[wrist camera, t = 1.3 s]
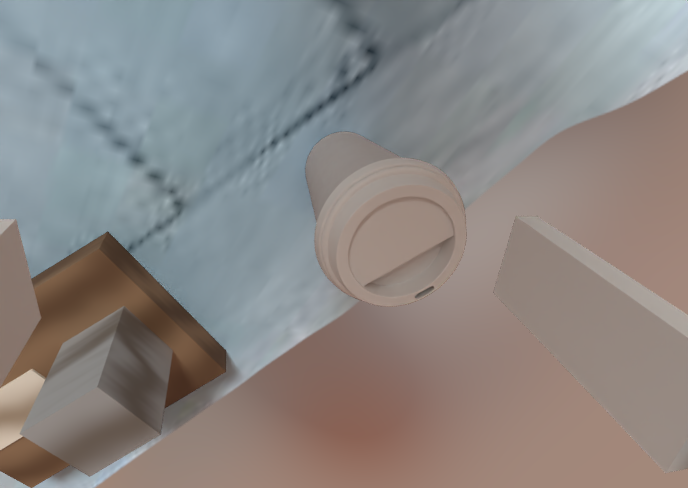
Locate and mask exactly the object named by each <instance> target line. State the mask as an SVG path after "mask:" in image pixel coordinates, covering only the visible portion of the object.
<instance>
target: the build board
mask: <svg viewBox="0 0 688 488" xmlns="http://www.w3.org/2000/svg"><path fill="white" fill-rule="evenodd" d="M31 280H32V284H33V288H34V292H35V296H36V300H37V304H38V308H39V311H40V315H41V319H40V321H39V322H38V324H37V326H36V327H35V329H34V331H33V333H32V334H31V336H30V338H29V339H28V341H27V343H26V344H25V346H24V348H23V350H22V351H21V353H20V355H19V356H18V358H17V360H16V361H15V363H14V365H13V367H12V368H11V370H10V372H9V373H8V375H7V377H6V378H5V380H4V382H3V384H2V385H1V387H0V471H1V472H3V473H5V474H7V475H8V476H10V477H12V478H14V479H16V480H18V481H20V482H21V483H23V484H25V485H27V486H29V487H31V488H32V487H34V486H36V485H37V484H39V483H41V482H42V481H44V480H46V479H47V478H49V477H51V476H52V475H54V474H56V473H57V472H59V471H61V470H62V469H64V468H66V467H67V466H69V465H71V466H73V467H75V468H76V469H78V470H80V471H81V472H83V473H85V474H86V475H88V476H92V475H93V474H95V473H97V472H98V471H100V470H102V469H103V468H105V467H107V466H109V465H110V464H112V463H114V462H115V461H117V460H119V459H120V458H122V457H124V456H125V455H127V454H129V453H130V452H132V451H134V450H135V449H137V448H139V447H140V446H142V445H144V444H145V443H147V442H149V441H150V440H152V439H154V438H156V437H157V436H159V435H161V428H162V421H163V414H164V408H166V407H168V406H169V405H171V404H173V403H174V402H176V401H178V400H179V399H181V398H183V397H184V396H186V395H188V394H189V393H191V392H193V391H195V390H196V389H198V388H200V387H201V386H203V385H205V384H206V383H208V382H210V381H211V380H213V379H215V378H216V377H218V376H220V375H221V374H223V373H225V372H226V350H225V349H224V348H223V347H222V346H221V345H220V344H219V343H218V342H217V341H216V340H215V339H214V338H213V337H212V336H211V335H210V334H209V333H208V332H207V331H206V330H205V329H204V328H203V327H202V326H201V325H200V324H199V323H198V322H197V321H196V320H195V319H194V318H193V317H192V316H191V315H190V314H189V313H188V312H187V311H186V310H185V309H184V308H183V307H182V306H181V305H180V304H179V303H178V302H177V301H176V300H175V299H174V298H173V297H172V296H171V295H170V294H169V293H168V292H167V291H166V290H165V289H164V288H163V287H162V286H161V285H160V284H159V283H158V282H157V281H156V280H155V279H154V278H153V277H152V276H151V275H150V274H149V273H148V272H147V271H146V270H145V269H144V268H143V267H142V266H141V265H140V263H139V262H138V261H137V260H136V259H135V258H134V257H133V256H132V255H131V254H130V253H129V252H128V251H127V250H126V249H125V248H124V247H123V246H122V245H121V244H120V243H119V242H118V241H117V240H116V239H115V238H114V237H113V236H112V235H111V234H110V233H109V232H106V233H105V234H103V235H102V236H100V237H98V238H97V239H95V240H93V241H92V242H90V243H89V244H87V245H85V246H84V247H82V248H81V249H79V250H77V251H76V252H74V253H73V254H71V255H69V256H68V257H66V258H64V259H63V260H61V261H60V262H58V263H56V264H55V265H53V266H52V267H50V268H48V269H47V270H45V271H43V272H42V273H40V274H39V275H37V276H35V277H34V278H32V279H31Z"/></svg>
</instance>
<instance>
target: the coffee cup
mask: <svg viewBox="0 0 688 488" xmlns="http://www.w3.org/2000/svg"><path fill="white" fill-rule="evenodd" d="M305 173H306V180H307V184H308V188H309V192H310V196H311V201H312V205H313V209H314V213H315V218H316V222H317V224H316V229H315V251H316V256H317V259H318V262H319V265H320V267H321V269H322V270H323V272H324V274H325V275H326V276H327V278H328V279H329V280H330V281H331V282H332V283H333V284H334V285H335V286H336V287H338V288H339V289H340V290H341V291H343V292H344V293H346V294H348V295H350V296H352V297H354V298H356V299H358V300H361V301H365V302H367V303H370V304H373V305H377V306H387V307H393V306H401V305H406V304H409V303H413V302H416V301H418V300H420V299H422V298H424V297H426V296H428V295H430V294H431V293H433V292H434V291H435V290H437V289H438V288H439V287H440V286H442V285H443V284H444V283H445V282H446V281H447V280H448V279H449V277H450V276H451V275H452V274H453V272H454V271H455V269H456V268H457V266H458V264H459V262H460V260H461V258H462V255H463V252H464V249H465V245H466V236H467V232H466V216H465V210H464V205H463V202H462V199H461V197H460V194H459V192H458V190H457V188H456V187H455V185H454V184H453V182H452V181H451V180H450V178H449V177H448V176H447V175H446V174H445V173H444V172H442V171H441V170H440V169H438V168H437V167H435V166H433V165H431V164H429V163H427V162H424V161H421V160H417V159H411V158H401V157H399V156H398V155H396V154H394V153H392V152H390V151H388V150H386V149H385V148H383V147H381V146H379V145H377V144H375V143H374V142H372V141H370V140H368V139H366V138H365V137H363V136H361V135H359V134H356V133H353V132H336V133H333V134H330V135H328V136H326V137H324V138H323V139H321V140H320V141H319V142H318V143H317V144H316V145H315V146H314V147H313V149H312V150H311V152H310V154H309V156H308V158H307V162H306V168H305Z"/></svg>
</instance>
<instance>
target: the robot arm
mask: <svg viewBox="0 0 688 488" xmlns="http://www.w3.org/2000/svg"><path fill="white" fill-rule="evenodd" d="M493 293H494V294H495V295H496V296H497V297H498V298H499V299H500V300H501V301H502V302H503V303H504V304H505V306H506V307H508V309H509V310H510V311H511V312H512V313H513V314H514V315H515V316H516V317H517V318H518V319H519V320H520V321H521V322H522V323H523V324H524V325H525V326H526V327H527V328H528V329H529V331H530V332H531V333H532V334H533V335H534V336H535V337H536V338H537V339H538V340H539V341H540V342H541V343H542V344H543V345H544V346H545V347H546V348H547V349H548V350H549V351H550V353H551V354H552V355H553V356H554V357H555V358H556V359H557V360H558V361H559V362H560V363H561V364H562V365H563V366H564V367H565V368H566V369H567V370H568V371H569V372H570V373H571V375H572V376H573V377H574V378H575V379H576V380H577V381H578V382H579V383H580V384H581V385H582V386H583V387H584V388H585V389H586V390H587V391H588V392H589V393H590V394H591V395H592V396H593V398H594V399H595V400H596V401H597V402H598V403H599V404H600V405H601V406H602V407H603V408H604V409H605V410H606V411H607V412H608V413H609V414H610V415H611V416H612V417H613V419H615V421H616V422H617V423H618V424H619V425H620V426H621V427H622V428H623V429H624V430H625V431H626V432H627V433H628V434H629V435H630V436H631V437H632V438H633V439H634V440H635V442H636V443H637V444H638V445H639V446H640V447H641V448H642V449H643V450H644V451H645V452H646V453H647V454H648V455H649V456H650V457H651V458H652V459H653V460H654V461H655V462H656V463H657V465H658V466H659V467H660V468H661V469H662V470H663V471H664V472H665V473H668V472H673V471H678V470H683V469H688V315H687V314H686V313H684V312H682V311H681V310H680V309H678V308H676V307H675V306H673V305H672V304H670V303H668V302H667V301H666V300H664V299H663V298H661V297H660V296H658V295H657V294H655V293H654V292H652V291H651V290H649V289H648V288H646V287H644V286H643V285H641V284H640V283H638V282H637V281H635V280H634V279H632V278H631V277H629V276H628V275H626V274H625V273H623V272H621V271H620V270H618V269H617V268H615V267H614V266H612V265H611V264H609V263H608V262H606V261H605V260H603V259H602V258H600V257H598V256H597V255H596V254H594V253H593V252H591V251H590V250H588V249H587V248H585V247H584V246H582V245H581V244H579V243H577V242H576V241H574V240H573V239H571V238H570V237H568V236H567V235H565V234H564V233H562V232H560V231H559V230H558V229H556V228H555V227H553V226H552V225H550V224H549V223H547V222H545V221H544V220H542V219H541V218H539V217H538V216H516V217H515V221H514V224H513V227H512V231H511V234H510V238H509V241H508V244H507V248H506V251H505V254H504V258H503V261H502V264H501V268H500V271H499V275H498V278H497V282H496V285H495V288H494V292H493ZM40 319H41V315H40V311H39V308H38V304H37V300H36V296H35V292H34V288H33V284H32V280H31V276H30V272H29V268H28V264H27V260H26V256H25V253H24V249H23V245H22V241H21V237H20V233H19V229H18V225H17V221H16V219H0V387H1V385H2V384H3V382H4V380H5V378H6V377H7V375H8V373H9V372H10V370H11V368H12V367H13V365H14V363H15V361H16V360H17V358H18V356H19V355H20V353H21V351H22V350H23V348H24V346H25V344H26V343H27V341H28V339H29V338H30V336H31V334H32V333H33V331H34V329H35V327H36V326H37V324H38V322H39V321H40Z"/></svg>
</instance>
